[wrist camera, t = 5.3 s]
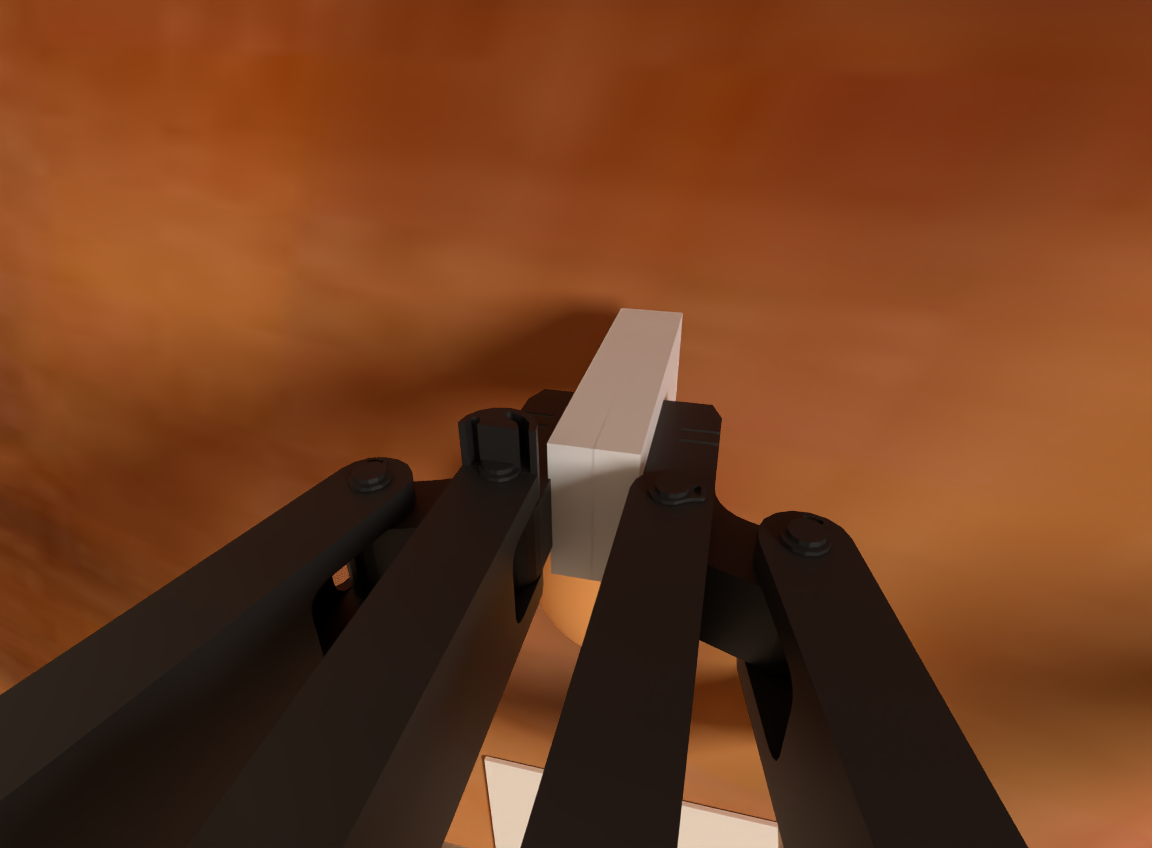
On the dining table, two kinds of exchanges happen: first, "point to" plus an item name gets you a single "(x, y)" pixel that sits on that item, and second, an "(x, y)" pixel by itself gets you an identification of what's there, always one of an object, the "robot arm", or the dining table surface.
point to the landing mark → (706, 835)
